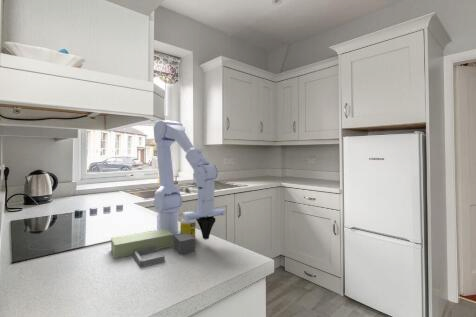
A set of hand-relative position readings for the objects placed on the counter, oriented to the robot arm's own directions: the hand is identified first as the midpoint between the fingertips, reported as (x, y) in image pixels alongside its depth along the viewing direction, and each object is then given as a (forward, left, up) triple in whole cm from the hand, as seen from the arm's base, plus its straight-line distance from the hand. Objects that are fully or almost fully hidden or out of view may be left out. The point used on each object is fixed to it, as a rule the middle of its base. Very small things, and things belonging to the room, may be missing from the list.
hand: (205, 238), depth 87 cm
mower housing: (-4, -19, -2) cm, 19 cm away
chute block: (0, -8, -3) cm, 8 cm away
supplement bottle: (-9, -3, -3) cm, 10 cm away
